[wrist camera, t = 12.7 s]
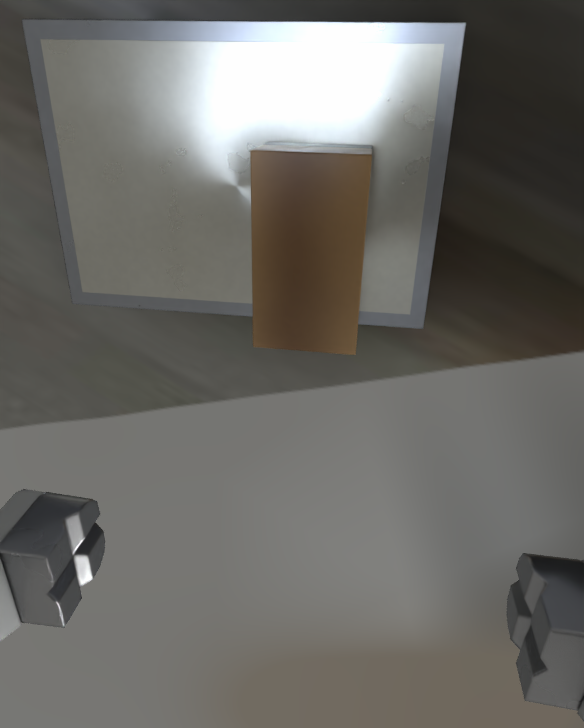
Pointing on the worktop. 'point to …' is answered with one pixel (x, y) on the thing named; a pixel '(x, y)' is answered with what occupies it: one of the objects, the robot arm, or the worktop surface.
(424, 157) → the whiteboard
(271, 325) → the eraser
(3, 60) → the worktop surface
